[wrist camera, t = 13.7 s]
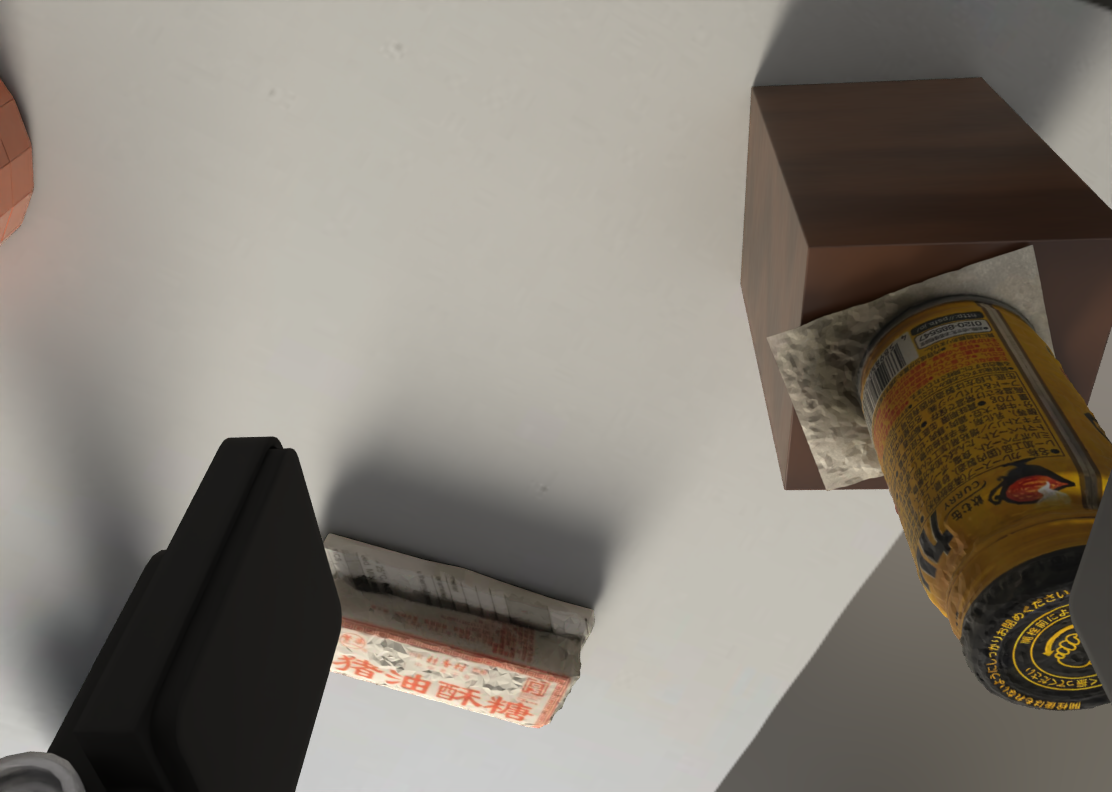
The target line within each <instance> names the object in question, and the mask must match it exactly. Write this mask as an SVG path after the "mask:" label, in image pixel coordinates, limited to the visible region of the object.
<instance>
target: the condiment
mask: <svg viewBox="0 0 1112 792" xmlns="http://www.w3.org/2000/svg"><path fill="white" fill-rule="evenodd" d="M767 340H768V343H769V345H770V348H771V351H772V353H773V355H774V358H775V360H776V363H777V365H778V368H779V370H780V373H781V375H782V378H783V380H784V383H785V385H786V388H787V391H788V394H789V396H790V398H791V400H792V403H793V406H794V408H795V411H796V413H797V416H798V419H799V421H800V424H801V426H802V428H803V431H804V434H805V436H806V439H807V442H808V444H809V446H810V449H811V452H812V454H813V457H814V459H815V462H816V464H817V467H818V470H819V472H820V475H821V478H822V480H823V483H824V485H825V488H826V490H827V491H829V490H833V489H836V488H839V487H845V486H849V485H852V484H855V483H858V482H860V481H863V480H866V479H870V478H877V477H881V476H884V477H885V480H886V482H887V485H888V488H889V492H890V494H891V496H892V498H893V501H894V504H895V509H896V512H897V514H898V515H899V518H900V521H901V524H902V526H903V529H904V533H905V536H906V539H907V541H908V544H909V547H910V550H911V553H912V557H913V559H914V562H915V564H916V568H917V572H918V576H919V579H920V581H921V583H922V585H923V586H924V589H925V590H926V592H927V594H928V596H929V598H930V599H931V601H932V602H933V603H934V605H936V606H937V607H938V609H939V610H940V611H941V613H942V614H943V615H944V616H946V617H947V618H948V619H949V621H950V624H951V627H952V630H953V632H954V634H955V635H956V636H957V638H958V639H959V640H960V642H961V644H962V648H963V654H964V656H965V659H966V662H967V665H968V667H969V668H970V670H971V672H973V673H974V674H975V676H976V677H977V679H978V681H979V682H980V683H981V684H983V686H984V687H985V688H986V689H987V690H988V691H989V692H990V693H992V694H994V695H997V696H999V697H1001V698H1003V699H1005V700H1007V701H1009V702H1011V703H1014V704H1018V705H1022V706H1026V707H1030V708H1035V709H1045V710H1057V711H1065V710H1080V709H1087V708H1094V707H1096V706H1100V705H1103V704H1108V703H1110V701H1109V699H1108V697H1107V694H1106V692H1105V690H1104V688H1103V686H1102V684H1101V682H1100V680H1099V678H1098V676H1097V674H1096V672H1095V670H1094V668H1093V666H1092V664H1091V662H1090V660H1089V658H1088V656H1087V653H1086V651H1085V649H1084V647H1083V645H1082V643H1081V641H1080V639H1079V637H1078V635H1077V633H1076V631H1075V629H1074V626H1073V624H1072V621H1071V617H1070V612H1069V596H1070V592H1071V589H1072V586H1073V583H1074V580H1075V577H1076V574H1077V571H1078V568H1079V565H1080V562H1081V559H1082V556H1083V553H1084V550H1085V547H1086V544H1087V541H1088V538H1089V535H1090V532H1091V529H1092V526H1093V523H1094V520H1095V517H1096V514H1097V511H1098V508H1099V505H1100V502H1101V499H1102V496H1103V493H1104V490H1105V487H1106V484H1107V481H1108V478H1109V475H1110V472H1111V469H1112V443H1111V442H1110V441H1109V439H1108V438H1107V437H1106V435H1105V432H1104V431H1103V429H1102V428H1101V427H1100V426H1099V424H1098V422H1097V420H1096V419H1095V417H1094V415H1093V413H1092V412H1091V411H1090V410H1089V409H1088V407H1087V405H1086V403H1085V401H1084V399H1083V398H1082V397H1081V395H1080V394H1079V393H1078V392H1077V390H1076V389H1075V388H1074V386H1073V384H1072V383H1071V382H1070V381H1069V379H1068V377H1067V375H1066V374H1065V373H1064V371H1063V369H1062V366H1061V364H1060V362H1059V361H1058V360H1057V359H1055V354H1054V350H1053V345H1052V340H1051V335H1050V330H1049V325H1048V319H1047V315H1046V310H1045V305H1044V300H1043V293H1042V289H1041V282H1040V278H1039V272H1038V267H1037V262H1036V258H1035V253H1034V249H1033V245H1030V246H1027V247H1025V248H1022V249H1019V250H1016V251H1013V252H1009V253H1006V254H1003V255H1000V256H997V257H994V258H991V259H988V260H985V261H981V262H978V263H975V264H972V265H969V266H966V267H964V268H962V269H960V270H957V271H953V272H948V273H945V274H942V275H939V276H937V277H933V278H930V279H928V280H925V281H924V282H922V283H918V284H913V285H911V286H908V287H906V288H904V289H901V290H899V291H896V292H894V293H889V294H887V295H885V296H883V297H881V298H879V299H876V300H874V301H871V302H869V303H866V304H862V305H857V306H854V307H851V308H848V309H846V310H843V311H840V312H836V313H833V314H830V315H827V316H824V317H821V318H819V319H816V320H814V321H811V322H809V323H807V324H805V325H802V326H800V327H798V328H795V329H792V330H788V331H784V332H782V333H779V334H776V335H773V336H770V337H767Z"/></svg>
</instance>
